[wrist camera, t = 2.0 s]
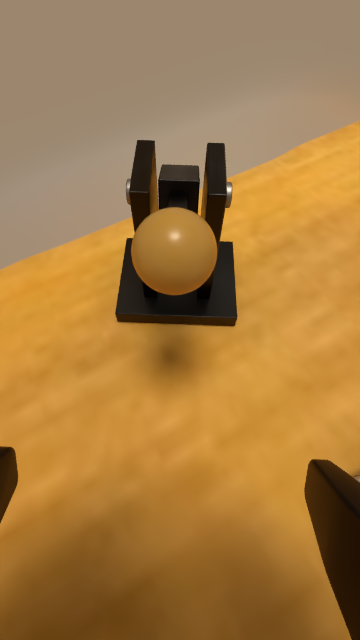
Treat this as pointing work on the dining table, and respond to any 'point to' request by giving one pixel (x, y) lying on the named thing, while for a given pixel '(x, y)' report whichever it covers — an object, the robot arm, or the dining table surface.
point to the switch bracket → (219, 289)
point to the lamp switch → (175, 236)
